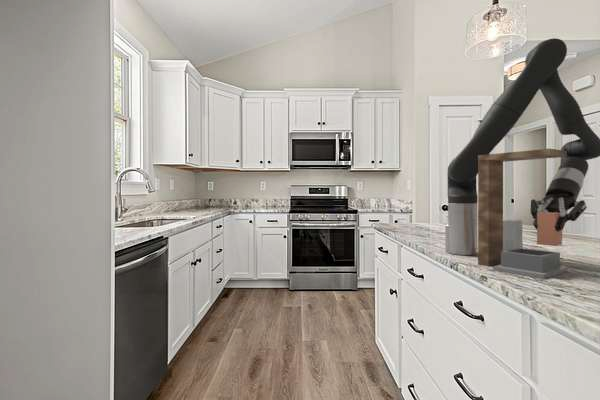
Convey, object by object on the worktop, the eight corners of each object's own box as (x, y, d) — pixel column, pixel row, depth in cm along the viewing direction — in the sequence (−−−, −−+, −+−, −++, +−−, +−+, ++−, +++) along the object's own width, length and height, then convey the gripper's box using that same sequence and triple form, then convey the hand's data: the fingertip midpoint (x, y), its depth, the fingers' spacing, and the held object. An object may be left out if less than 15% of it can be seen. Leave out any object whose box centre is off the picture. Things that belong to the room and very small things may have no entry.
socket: (493, 270, 96) (493, 251, 95) (518, 264, 103) (518, 246, 103) (543, 278, 86) (543, 258, 85) (567, 271, 93) (567, 252, 93)
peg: (536, 244, 102) (537, 212, 102) (543, 242, 104) (544, 212, 104) (555, 246, 98) (555, 213, 98) (561, 244, 101) (562, 213, 100)
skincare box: (508, 255, 117) (508, 219, 117) (522, 257, 114) (523, 220, 114) (502, 258, 113) (502, 220, 112) (517, 260, 110) (517, 221, 109)
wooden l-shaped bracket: (476, 264, 103) (476, 155, 102) (494, 261, 108) (494, 157, 108) (548, 277, 87) (549, 148, 87) (565, 271, 93) (566, 151, 92)
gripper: (535, 177, 111) (515, 218, 104) (591, 176, 99) (573, 221, 93) (542, 194, 114) (523, 234, 108) (598, 195, 102) (580, 240, 96)
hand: (546, 228), depth 100 cm, fingers closed on peg, 4 cm apart
